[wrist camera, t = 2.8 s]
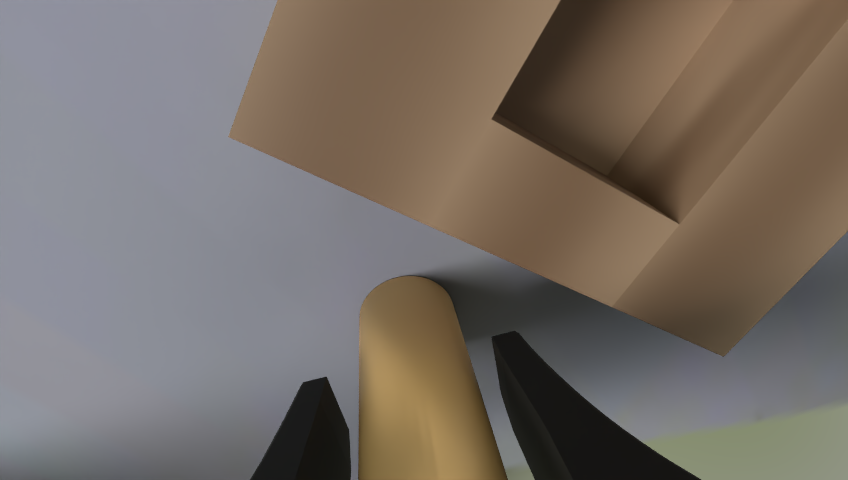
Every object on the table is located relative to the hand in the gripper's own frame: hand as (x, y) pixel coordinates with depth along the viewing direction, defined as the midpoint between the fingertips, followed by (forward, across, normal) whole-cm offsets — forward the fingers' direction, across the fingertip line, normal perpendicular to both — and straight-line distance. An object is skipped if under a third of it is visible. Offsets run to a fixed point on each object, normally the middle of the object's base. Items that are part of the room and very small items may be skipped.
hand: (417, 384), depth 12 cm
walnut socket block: (+3, -6, -7) cm, 9 cm away
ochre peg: (+3, 0, 0) cm, 3 cm away
